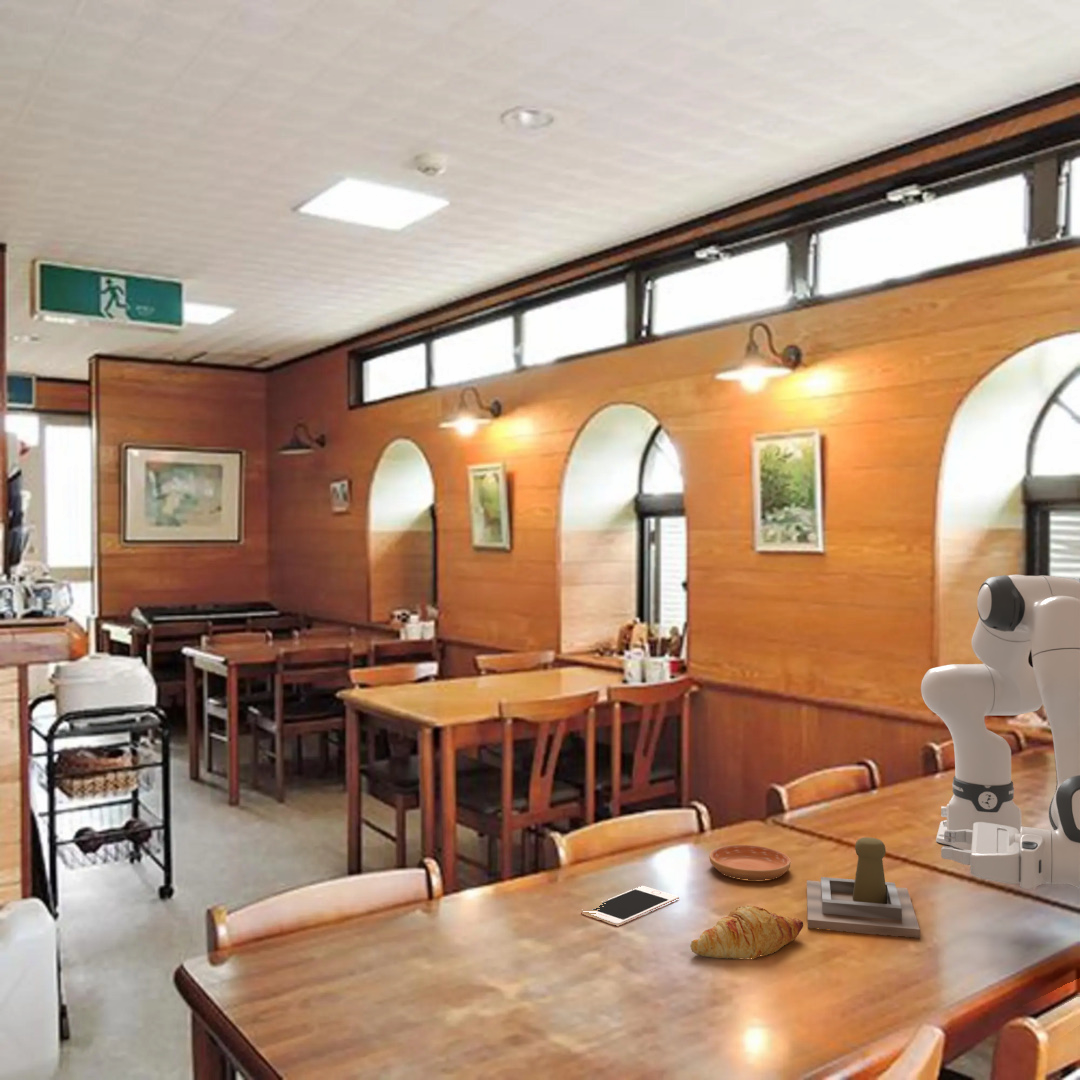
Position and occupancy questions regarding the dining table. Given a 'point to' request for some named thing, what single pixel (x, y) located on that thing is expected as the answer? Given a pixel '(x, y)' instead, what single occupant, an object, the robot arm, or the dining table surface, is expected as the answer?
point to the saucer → (749, 862)
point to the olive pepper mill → (870, 872)
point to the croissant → (747, 934)
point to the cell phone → (632, 904)
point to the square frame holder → (859, 909)
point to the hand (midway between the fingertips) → (942, 843)
